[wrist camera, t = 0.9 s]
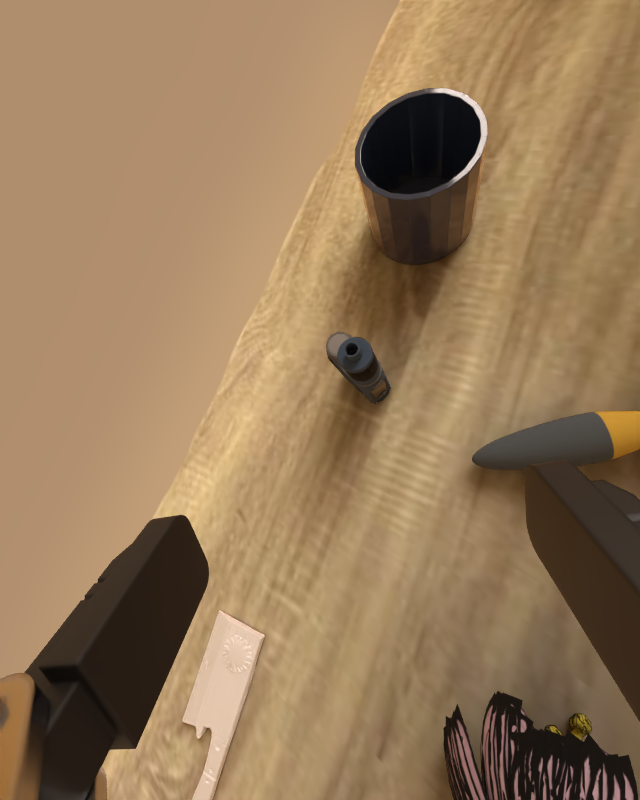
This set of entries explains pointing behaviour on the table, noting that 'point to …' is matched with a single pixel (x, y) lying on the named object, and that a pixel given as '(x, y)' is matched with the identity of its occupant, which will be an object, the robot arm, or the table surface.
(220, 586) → the table surface
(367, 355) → the vaping device
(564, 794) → the decorative flower
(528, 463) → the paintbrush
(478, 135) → the pen cup
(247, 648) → the white plastic blade
